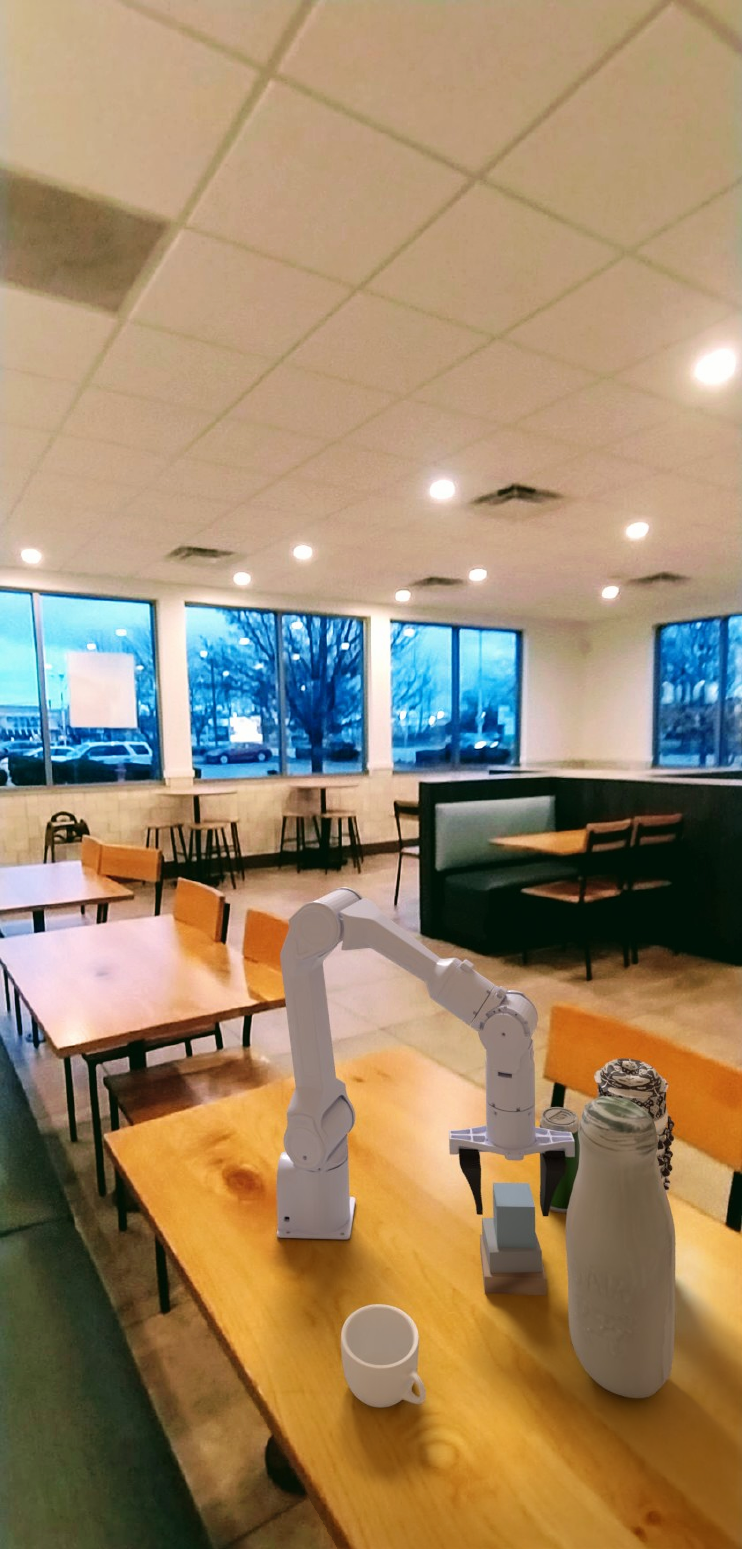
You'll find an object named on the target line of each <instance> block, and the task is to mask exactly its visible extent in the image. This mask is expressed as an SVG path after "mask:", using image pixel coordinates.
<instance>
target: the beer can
mask: <svg viewBox="0 0 742 1549" xmlns="http://www.w3.org/2000/svg"><path fill="white" fill-rule="evenodd" d="M540 1115H541V1117H540V1119H539V1128H544V1129H549V1130H554V1131H560V1132H571V1133H572V1135H573V1138H574V1141H575V1157H566V1156H565V1160H566V1163H567V1169H566V1173H565V1175H564V1176H563V1178H562V1179H561V1181H560V1182H559V1184H558V1186H557V1188H556V1190H555V1193H554V1196H553V1198H552V1202H551V1206H550V1211H552V1212H556V1213H559V1214H560V1213H561V1214H562V1213H563V1214H567V1209H568V1205H569V1201H570V1197H571V1193H572V1190H573V1185H574V1181H575V1178H576V1175H577V1171H578V1168H579V1157H580V1144H579V1136H578V1132H579V1124H580V1121H579V1116H578V1114H577V1113H576V1112H575V1111H573V1110H572V1109H568V1108H565V1107H560V1106H555V1107H554V1106H553V1107H552V1106H551V1107H547V1108H545V1109H544V1110H542V1111H541V1114H540ZM539 1174H540V1175H539V1178H540V1179H539V1181H540V1182H541V1168H540V1167H539ZM540 1182H539V1183H540Z"/></svg>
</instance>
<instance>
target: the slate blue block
mask: <svg viewBox="0 0 742 1549" xmlns="http://www.w3.org/2000/svg"><path fill="white" fill-rule="evenodd" d="M492 1211H493V1212H492V1218H493V1222H494V1229H495V1235H496V1242H497V1247H501V1248H536V1238H535V1232H536V1205H535V1202H534V1197H533V1193H532V1189H531V1185H530V1182H492Z"/></svg>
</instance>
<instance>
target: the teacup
mask: <svg viewBox="0 0 742 1549" xmlns="http://www.w3.org/2000/svg"><path fill="white" fill-rule="evenodd" d="M419 1336H420V1334H419V1330H418V1327H417V1325H416V1322H414V1320H413V1318H412V1317H411V1316H410V1315H409V1314H408V1313H406V1312H405V1311H403V1310H402V1309H400V1308H399V1307H395V1306H393V1305H388V1304H381V1303H375V1304H369V1305H365V1306H363V1307H360V1308H358V1309H356V1310H355V1311H353V1312H352V1313H351V1314H350V1315H348V1317H347V1318H346V1320H345V1321H344V1322H343V1326H342V1327H341V1333H340V1350H341V1351H340V1352H341V1361H342V1362H341V1363H342V1367H343V1375H344V1378H345V1380H346V1381H345V1382H346V1383H347V1386H348V1387H349V1390H350V1391H351V1392H352V1393H353V1395H354V1396H355V1397H356V1398H357V1399H358V1400H359V1401H361V1402H362V1403H364V1404H366V1405H367V1406H370V1407H372V1408H373V1407H374V1408H381V1409H382V1408H389V1407H391V1406H394V1405H396V1404H398V1403H399V1402H401V1401H402V1400H403V1401H406V1402H409V1403H411V1404H415V1405H421V1404H422V1403H423V1402H424V1401H425V1400H426V1395H427V1394H426V1387H425V1385H424V1382H423V1380H422V1379H421V1377H420V1375H419V1374H417V1373H418V1362H419V1351H420V1350H419V1349H420V1348H419V1347H420V1337H419ZM414 1384H415V1385H416V1386H417V1388H418V1392H419V1396H417V1394H415V1393H414V1392H413V1390H412V1388H413V1386H414Z"/></svg>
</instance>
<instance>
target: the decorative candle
mask: <svg viewBox="0 0 742 1549" xmlns="http://www.w3.org/2000/svg"><path fill="white" fill-rule="evenodd" d="M593 1077H594V1080H595V1083H596V1084H597V1098H598V1097H604V1096H608V1097H617V1098H622V1099H626V1100H629V1101H631V1102H634V1103H635V1104H637V1105H639V1106H640V1107H641V1108H643V1109H644V1110H645V1111H646V1112H647V1113H648V1114H649V1115H650V1116H651V1117H652V1119H653V1121H654V1123H655V1127H656V1132H657V1139H658V1149H657V1152H656V1155H657V1159H658V1164H659V1168H660V1172H661V1178H662V1182H663V1185H664V1189H665V1191H666V1194H668V1193H669V1190H670V1187H671V1181H670V1178H669V1176H670V1175H671V1172H672V1171H673V1170H674V1169H673V1166H672V1164H671V1160H672V1158H673V1157H674V1153H673V1152H672V1150H671V1148H670V1147H671V1146H672V1144H673V1142H674V1140H675V1137H674V1135H673V1133H672V1132H673V1130H674V1129H673V1128H674V1127H675V1122H674V1121H673V1120H672V1117H671V1115H669V1114H668V1112H669V1111H668V1109H667V1090H668V1088H669V1084H668V1082H667V1080H666V1079H665V1078H664V1077H663V1076H661V1075H660V1074H659V1073H658V1071H657V1070H656V1068H654V1067H653V1066H651V1065H650V1064H649V1063H647V1062H643V1061H641V1060H639V1059H638V1060H637V1059H633V1058H614V1059H612V1060H610V1061H608V1062H606V1063H605V1064H604V1066H603V1067H601V1068H600V1069H597V1070H596V1072H595V1073H594V1074H593Z"/></svg>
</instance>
